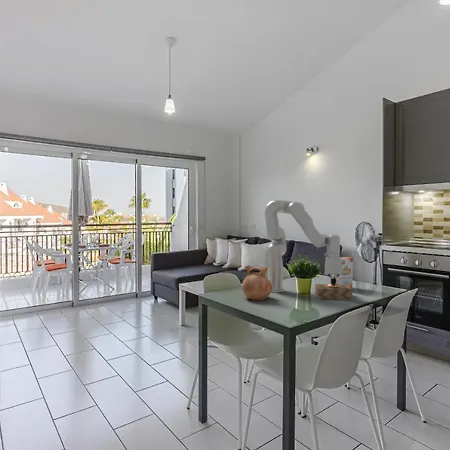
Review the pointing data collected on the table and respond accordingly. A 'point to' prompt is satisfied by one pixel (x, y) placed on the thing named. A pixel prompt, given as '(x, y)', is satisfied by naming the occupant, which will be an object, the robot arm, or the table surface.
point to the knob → (332, 286)
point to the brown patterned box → (333, 292)
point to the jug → (256, 284)
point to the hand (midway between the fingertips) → (333, 284)
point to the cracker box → (346, 272)
